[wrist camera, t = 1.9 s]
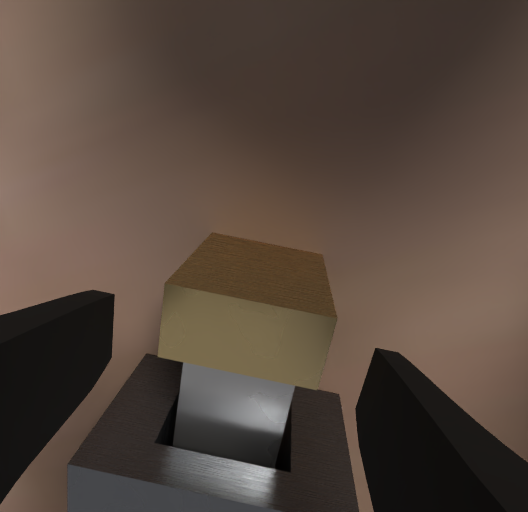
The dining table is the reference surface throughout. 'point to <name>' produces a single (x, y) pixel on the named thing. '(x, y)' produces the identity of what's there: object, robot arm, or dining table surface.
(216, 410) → the lever
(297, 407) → the housing
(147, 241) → the dining table surface
